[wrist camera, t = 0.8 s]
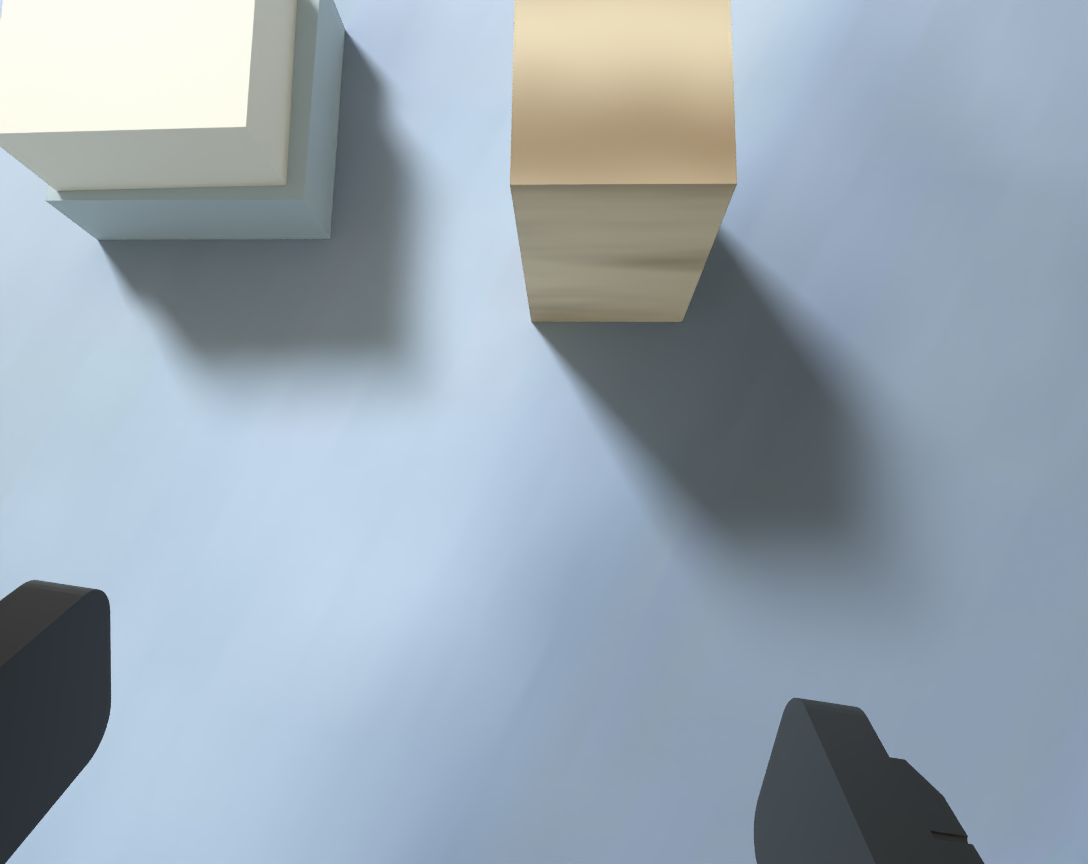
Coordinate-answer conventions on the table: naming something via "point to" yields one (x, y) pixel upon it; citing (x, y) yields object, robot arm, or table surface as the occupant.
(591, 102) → the maple pillar
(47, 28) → the tower top
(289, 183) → the tower base
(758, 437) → the table surface
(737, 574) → the table surface
